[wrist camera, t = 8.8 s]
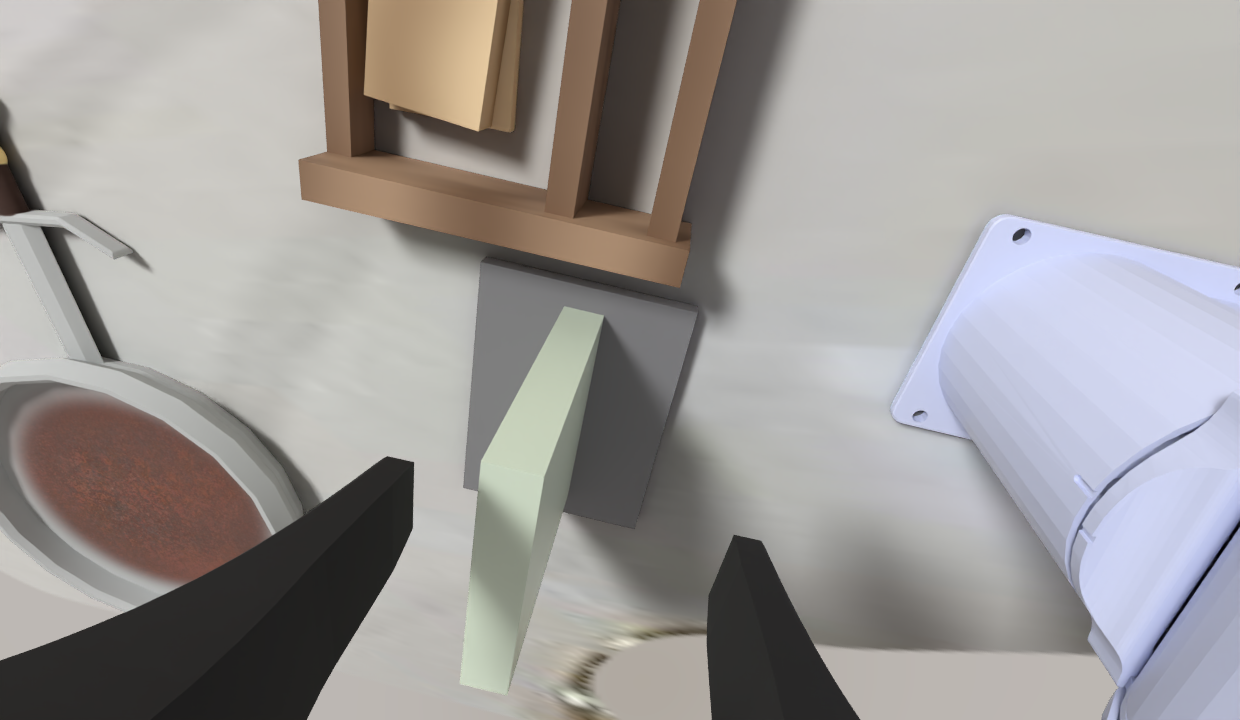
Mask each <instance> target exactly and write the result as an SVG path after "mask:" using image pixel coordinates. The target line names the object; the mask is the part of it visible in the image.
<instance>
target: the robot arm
mask: <svg viewBox="0 0 1240 720" xmlns="http://www.w3.org/2000/svg"><path fill="white" fill-rule="evenodd" d="M1021 228H1025V233H1024V235H1023V237H1022V238H1021V239H1019V240H1017V241H1013V240H1012V238H1013V234H1014V233H1015V232H1016V231H1017V230H1019V229H1021ZM1239 283H1240V267H1236V266H1232V265H1227V264H1223V263H1219V262H1214V261H1210V260H1206V259H1201V258H1197V257H1193V256H1188V255H1184V254H1180V253H1175V252H1171V251H1167V250H1162V249H1158V248H1154V247H1149V246H1145V245H1140V244H1136V243H1132V242H1127V241H1123V240H1119V239H1114V238H1110V237H1106V236H1101V235H1097V234H1093V233H1088V232H1084V231H1080V230H1075V229H1071V228H1067V227H1062V226H1058V225H1054V224H1049V223H1045V222H1041V221H1036V220H1032V219H1027V218H1023V217H1019V216H1014V215H1010V214H1001V215H998V216H996V217H994V218H993V219H991V220H990V221H989V222H988V223H987V225H986V226H985V228H984V230H983V232H982V234H981V235H980V237H979V239H978V241H977V243H976V245H975V247H974V249H973V251H972V253H971V254H970V256H969V258H968V260H967V262H966V264H965V266H964V268H963V270H962V271H961V273H960V275H959V277H958V279H957V281H956V283H955V285H954V287H953V288H952V290H951V292H950V294H949V296H948V298H947V300H946V302H945V304H944V306H943V307H942V309H941V311H940V313H939V315H938V317H937V319H936V321H935V323H934V324H933V326H932V328H931V330H930V332H929V334H928V336H927V338H926V340H925V342H924V343H923V345H922V347H921V349H920V351H919V353H918V355H917V357H916V359H915V360H914V362H913V364H912V366H911V368H910V370H909V372H908V374H907V376H906V378H905V379H904V381H903V383H902V385H901V387H900V389H899V391H898V393H897V395H896V396H895V398H894V400H893V402H892V404H891V407H890V412H891V415H892V417H893V418H894V419H895V420H896V421H897V422H899V423H902V424H907V425H911V426H915V427H919V428H923V429H928V430H932V431H936V432H940V433H945V434H949V435H953V436H957V437H961V438H966V439H970V440H973V442H974V443H975V445H976V446H977V448H978V449H979V451H980V452H981V454H982V455H983V456H984V458H985V459H986V461H987V462H988V464H989V465H990V467H991V468H992V470H993V471H994V473H995V474H996V476H997V477H998V479H999V480H1000V481H1001V483H1002V484H1003V486H1004V487H1005V489H1006V490H1007V492H1008V493H1009V495H1010V496H1011V498H1012V499H1013V501H1014V502H1015V503H1016V505H1017V506H1018V508H1019V509H1020V511H1021V512H1022V514H1023V515H1024V517H1025V518H1026V520H1027V521H1028V523H1029V524H1030V525H1031V527H1032V528H1033V530H1034V531H1035V533H1036V534H1037V536H1038V537H1039V539H1040V540H1041V542H1042V543H1043V545H1044V546H1045V548H1046V549H1047V550H1048V552H1049V553H1050V555H1051V556H1052V558H1053V559H1054V561H1055V562H1056V564H1057V565H1058V567H1059V568H1060V570H1061V571H1062V572H1063V574H1064V575H1065V577H1066V578H1067V580H1068V581H1069V583H1070V584H1071V586H1072V587H1073V589H1074V590H1075V592H1076V593H1077V595H1078V596H1079V597H1080V599H1081V600H1082V602H1083V603H1084V605H1085V606H1086V608H1087V610H1088V611H1089V613H1090V615H1091V620H1092V628H1091V631H1090V634H1089V636H1088V642H1089V643H1090V645H1091V646H1092V648H1093V649H1094V651H1095V652H1096V654H1097V655H1098V657H1099V659H1100V660H1101V662H1102V663H1103V665H1104V666H1105V668H1106V669H1107V671H1108V672H1109V674H1110V676H1111V677H1112V679H1113V680H1114V682H1115V683H1116V685H1117V686H1118V687H1119V688H1118V689H1117V690H1116V691H1115V692H1114V694H1113V696H1112V697H1111V699H1110V700H1109V702H1108V704H1107V706H1106V708H1105V710H1104V712H1103V714H1102V720H1240V288H1239V289H1237V290H1235V287H1236V286H1237V285H1238V284H1239ZM919 410H923V411H924V412H923V413H922V414H921V415H919V416H913V414H914V413H915V412H917V411H919ZM413 488H414V462H410V461H406V460H401V459H397V458H392V457H388V456H387V457H385V458H383V459H382V460H380V461H379V462H378V463H376V464H375V465H373V466H372V467H371V468H369V469H368V470H367V471H365V472H364V473H363V474H361V475H360V476H359V477H357V478H356V479H354V480H353V481H352V482H350V483H349V484H348V485H346V486H345V487H343V488H342V489H341V490H339V491H338V492H336V493H335V494H334V495H332V496H331V497H329V498H328V499H326V500H325V501H324V502H322V503H321V504H319V505H318V506H316V507H315V508H313V509H312V510H310V511H309V512H308V513H306V514H305V515H303V516H302V517H300V518H299V519H297V520H296V521H294V522H293V523H291V524H290V525H288V526H286V527H285V528H283V529H282V530H280V531H278V532H277V533H275V534H274V535H272V536H270V537H269V538H267V539H266V540H264V541H262V542H261V543H259V544H258V545H256V546H254V547H253V548H251V549H249V550H247V551H246V552H244V553H242V554H241V555H239V556H237V557H235V558H234V559H232V560H230V561H228V562H227V563H225V564H223V565H221V566H219V567H217V568H215V569H214V570H212V571H210V572H208V573H206V574H204V575H202V576H200V577H199V578H197V579H195V580H193V581H191V582H189V583H187V584H184V585H182V586H180V587H178V588H176V589H174V590H172V591H170V592H168V593H166V594H164V595H162V596H160V597H157V598H155V599H153V600H151V601H149V602H147V603H145V604H143V605H140V606H138V607H136V608H134V609H132V610H129V611H127V612H125V613H123V614H120V615H118V616H115V617H113V618H111V619H108V620H106V621H104V622H101V623H99V624H96V625H94V626H92V627H89V628H87V629H84V630H82V631H79V632H77V633H74V634H72V635H69V636H67V637H64V638H61V639H59V640H56V641H54V642H51V643H48V644H46V645H43V646H40V647H38V648H35V649H32V650H29V651H26V652H24V653H21V654H18V655H15V656H12V657H9V658H7V659H4V660H1V661H0V720H307V718H308V716H309V714H310V712H311V710H312V708H313V706H314V704H315V702H316V700H317V698H318V696H319V694H320V692H321V690H322V688H323V686H324V684H325V683H326V681H327V679H328V677H329V676H330V674H331V672H332V670H333V669H334V667H335V665H336V663H337V662H338V660H339V659H340V657H341V655H342V654H343V652H344V650H345V649H346V647H347V646H348V644H349V642H350V641H351V639H352V637H353V636H354V634H355V633H356V631H357V629H358V628H359V626H360V624H361V623H362V621H363V620H364V618H365V616H366V615H367V613H368V611H369V610H370V608H371V607H372V605H373V603H374V602H375V600H376V598H377V597H378V595H379V593H380V592H381V590H382V589H383V587H384V585H385V584H386V582H387V580H388V579H389V577H390V575H391V574H392V572H393V570H394V568H395V566H396V564H397V562H398V559H399V557H400V555H401V553H402V551H403V549H404V547H405V544H406V542H407V540H408V538H409V535H410V533H411V531H412V529H413ZM707 656H708V670H709V686H710V700H711V713H712V720H860V719H859V717H858V716H857V715H856V713H855V711H854V710H853V708H852V707H851V705H850V704H849V703H848V701H847V699H846V698H845V696H844V695H843V693H842V691H841V690H840V688H839V687H838V685H837V683H836V682H835V680H834V679H833V677H832V675H831V674H830V672H829V671H828V669H827V667H826V665H825V664H824V662H823V660H822V658H821V657H820V655H819V653H818V651H817V650H816V648H815V646H814V644H813V643H812V641H811V639H810V637H809V635H808V633H807V632H806V630H805V628H804V626H803V624H802V622H801V620H800V618H799V617H798V615H797V613H796V611H795V609H794V607H793V605H792V603H791V601H790V599H789V597H788V595H787V593H786V591H785V589H784V587H783V585H782V583H781V581H780V579H779V577H778V574H777V572H776V570H775V568H774V566H773V564H772V562H771V560H770V557H769V555H768V553H767V551H766V549H765V547H764V545H763V543H762V542H761V541H759V540H755V539H750V538H746V537H741V536H737V535H734V536H733V538H732V541H731V543H730V546H729V548H728V550H727V553H726V555H725V558H724V560H723V562H722V565H721V567H720V570H719V572H718V574H717V577H716V579H715V582H714V584H713V586H712V589H711V591H710V594H709V600H708V619H707Z"/></svg>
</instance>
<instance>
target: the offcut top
mask: <svg viewBox="0 0 1240 720" xmlns="http://www.w3.org/2000/svg"><path fill="white" fill-rule="evenodd" d="M510 4H511V0H368V19H367V40H366V61H365V82H364V95H366V96H369V97H372V98H375V99H378V100H381V101H385V102H388V103H391V104H394V105H397V106H400V107H403V108H406V109H410V110H413V111H416V112H419V113H422V114H425V115H428V116H431V117H435V118H438V119H441V120H444V121H447V122H450V123H453V124H456V125H460V126H463V127H466V128H469V129H472V130H475V131H478V132H479V131H482V130H484V129H487V128H489V127H491V126H492V119H493V113H494V106H495V100H496V93H497V87H498V81H499V74H500V68H501V61H502V55H503V49H504V42H505V36H506V29H507V23H508V16H509V10H510Z"/></svg>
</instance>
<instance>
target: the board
mask: <svg viewBox="0 0 1240 720" xmlns="http://www.w3.org/2000/svg"><path fill="white" fill-rule="evenodd" d="M603 318H604V315H599V314H595V313H591V312H587V311H582V310H578V309H574V308H570V307H566V306H564V308H563V310H562V311H561V313H560V315H559V317H558V319H557V321H556V323H555V324H554V326H553V328H552V330H551V332H550V334H549V336H548V337H547V339H546V341H545V343H544V345H543V347H542V349H541V350H540V352H539V354H538V356H537V358H536V360H535V362H534V363H533V365H532V367H531V369H530V371H529V373H528V375H527V377H526V378H525V380H524V382H523V384H522V386H521V388H520V390H519V391H518V393H517V395H516V397H515V399H514V401H513V403H512V404H511V406H510V408H509V410H508V412H507V414H506V416H505V417H504V419H503V421H502V423H501V425H500V427H499V429H498V430H497V432H496V434H495V436H494V438H493V440H492V442H491V443H490V445H489V447H488V449H487V451H486V453H485V455H484V457H483V458H482V460H481V465H480V476H479V486H478V497H477V508H476V518H475V529H474V539H473V550H472V560H471V571H470V581H469V592H468V602H467V613H466V623H465V634H464V644H463V655H462V666H461V676H460V684H462V685H466V686H470V687H474V688H478V689H482V690H486V691H491V692H495V693H499V694H503V695H507V694H508V691H509V688H510V684H511V681H512V678H513V674H514V671H515V668H516V665H517V661H518V658H519V655H520V651H521V648H522V645H523V641H524V638H525V635H526V632H527V628H528V625H529V622H530V618H531V615H532V612H533V608H534V605H535V602H536V599H537V595H538V592H539V589H540V585H541V582H542V579H543V575H544V572H545V569H546V566H547V562H548V559H549V556H550V552H551V549H552V546H553V543H554V539H555V536H556V533H557V529H558V526H559V523H560V519H561V516H562V513H563V510H564V506H565V503H566V500H567V496H568V492H569V487H570V482H571V477H572V472H573V467H574V462H575V457H576V452H577V447H578V442H579V437H580V432H581V428H582V423H583V418H584V413H585V408H586V403H587V398H588V393H589V388H590V383H591V378H592V373H593V368H594V363H595V358H596V353H597V348H598V343H599V338H600V333H601V328H602V323H603Z"/></svg>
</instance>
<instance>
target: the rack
mask: <svg viewBox="0 0 1240 720" xmlns="http://www.w3.org/2000/svg"><path fill="white" fill-rule="evenodd" d="M620 2H621V0H572V4H571V11H570V19H569V27H568V34H567V42H566V50H565V57H564V65H563V73H562V80H561V88H560V96H559V103H558V111H557V119H556V126H555V134H554V142H553V149H552V157H551V165H550V173H549V180H548V188H547V190H545V189H541V188H536V187H532V186H528V185H523V184H519V183H515V182H510V181H506V180H502V179H497V178H493V177H489V176H485V175H480V174H476V173H472V172H467V171H463V170H459V169H454V168H450V167H446V166H442V165H437V164H433V163H429V162H424V161H420V160H416V159H411V158H407V157H403V156H399V155H394V154H390V153H386V152H381V151H377V150H375V144H374V98H372V97H369V96H366V95H364V82H365V61H366V40H367V19H368V0H318V4H319V21H320V38H321V55H322V72H323V89H324V105H325V122H326V139H327V152H324V153H321V154H317V155H314V156H310V157H307V158H303V159H299V172H300V184H301V196H302V200H307V201H311V202H315V203H319V204H324V205H328V206H332V207H336V208H341V209H345V210H349V211H354V212H358V213H362V214H366V215H371V216H375V217H379V218H383V219H388V220H392V221H396V222H400V223H405V224H409V225H413V226H418V227H422V228H426V229H430V230H435V231H439V232H443V233H447V234H452V235H456V236H460V237H464V238H469V239H473V240H477V241H482V242H486V243H490V244H494V245H499V246H503V247H507V248H511V249H516V250H520V251H524V252H528V253H533V254H537V255H541V256H545V257H550V258H554V259H558V260H563V261H567V262H571V263H575V264H580V265H584V266H588V267H592V268H597V269H601V270H605V271H609V272H614V273H618V274H622V275H627V276H631V277H635V278H639V279H644V280H648V281H652V282H656V283H661V284H665V285H669V286H673V287H678V288H680V285H681V282H682V278H683V274H684V270H685V267H686V263H687V259H688V255H689V252H690V239H691V225H692V224H691V223H687V222H682V221H681V219H682V215H683V211H684V207H685V203H686V199H687V195H688V192H689V188H690V184H691V180H692V176H693V172H694V168H695V164H696V160H697V156H698V152H699V148H700V144H701V140H702V136H703V132H704V128H705V124H706V121H707V117H708V113H709V109H710V105H711V101H712V97H713V93H714V89H715V85H716V81H717V77H718V73H719V69H720V65H721V61H722V57H723V53H724V50H725V46H726V42H727V38H728V34H729V30H730V26H731V22H732V18H733V14H734V10H735V6H736V2H737V0H700V2H699V6H698V11H697V15H696V20H695V24H694V28H693V33H692V37H691V42H690V46H689V51H688V55H687V59H686V64H685V68H684V73H683V77H682V82H681V86H680V90H679V95H678V99H677V104H676V108H675V113H674V117H673V121H672V126H671V130H670V135H669V139H668V144H667V148H666V152H665V157H664V161H663V166H662V170H661V175H660V179H659V183H658V188H657V192H656V197H655V201H654V206H653V210H652V214H648V213H644V212H639V211H635V210H631V209H627V208H622V207H618V206H614V205H609V204H605V203H601V202H596V201H592V200H588V194H589V188H590V182H591V176H592V170H593V164H594V158H595V152H596V146H597V140H598V134H599V128H600V122H601V116H602V110H603V104H604V98H605V92H606V86H607V80H608V74H609V68H610V62H611V56H612V50H613V44H614V38H615V32H616V26H617V20H618V14H619V8H620Z"/></svg>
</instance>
